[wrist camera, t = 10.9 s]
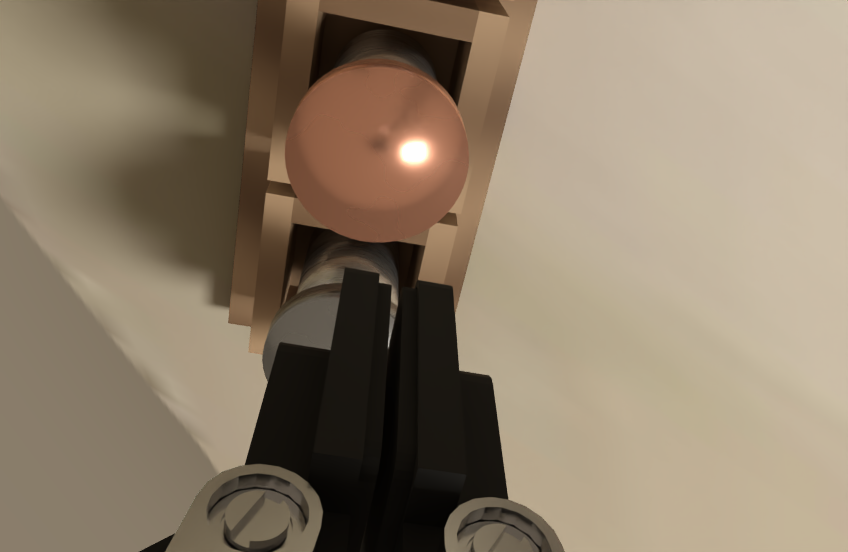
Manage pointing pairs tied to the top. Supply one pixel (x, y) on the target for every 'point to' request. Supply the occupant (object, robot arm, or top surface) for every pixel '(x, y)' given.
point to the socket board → (315, 56)
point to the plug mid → (378, 142)
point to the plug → (328, 290)
